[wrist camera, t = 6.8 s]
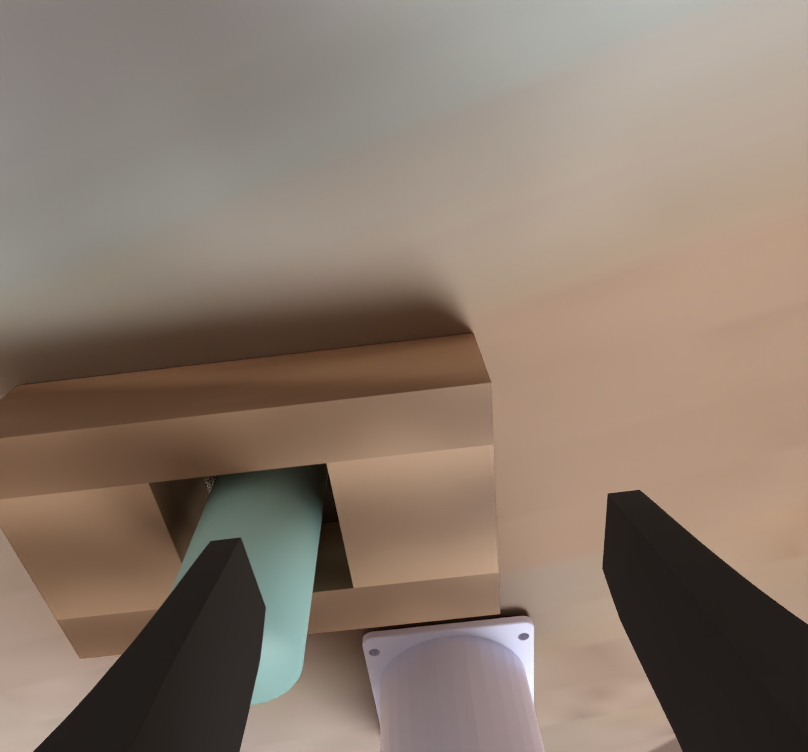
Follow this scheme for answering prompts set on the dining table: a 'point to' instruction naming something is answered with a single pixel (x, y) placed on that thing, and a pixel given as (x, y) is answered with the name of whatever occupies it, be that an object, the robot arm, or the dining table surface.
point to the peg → (271, 556)
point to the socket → (253, 451)
